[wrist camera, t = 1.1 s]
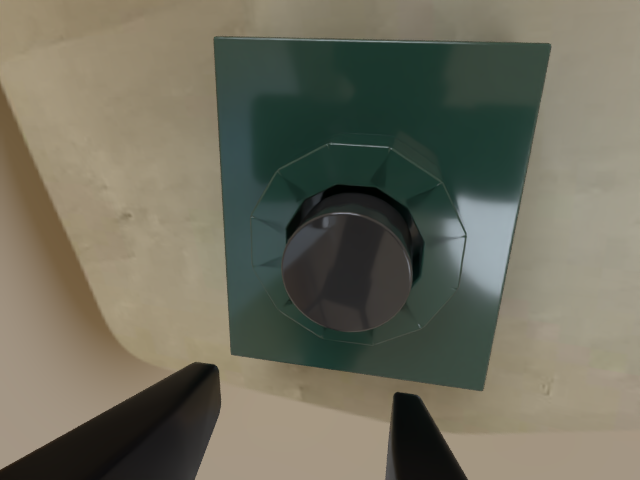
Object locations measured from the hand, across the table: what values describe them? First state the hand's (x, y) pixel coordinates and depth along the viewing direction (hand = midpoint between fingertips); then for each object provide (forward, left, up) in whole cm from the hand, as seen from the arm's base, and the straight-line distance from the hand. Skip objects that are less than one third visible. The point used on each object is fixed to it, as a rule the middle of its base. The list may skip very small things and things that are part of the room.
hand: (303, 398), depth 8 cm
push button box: (0, 0, -12) cm, 12 cm away
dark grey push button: (0, 0, -7) cm, 7 cm away
